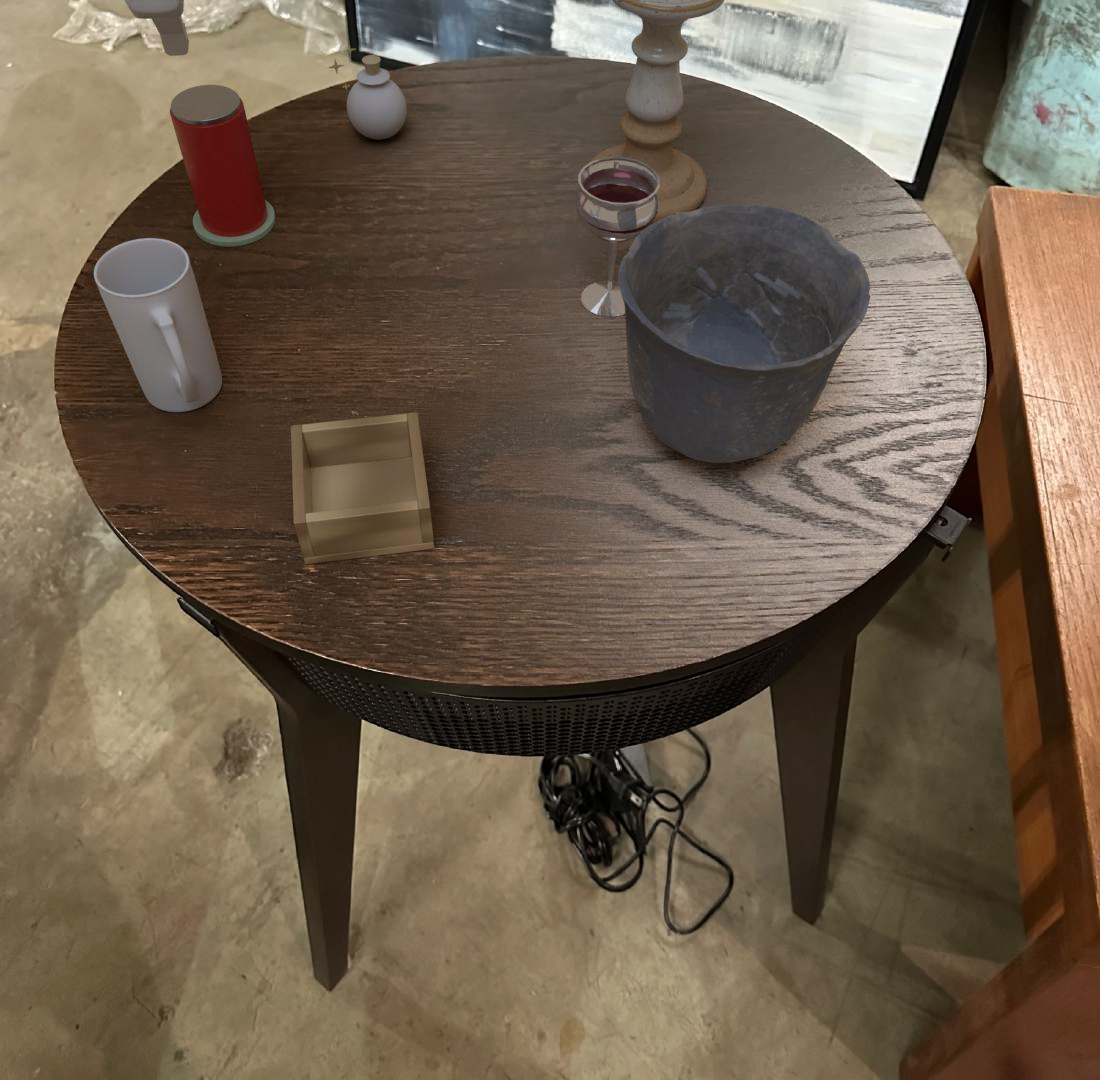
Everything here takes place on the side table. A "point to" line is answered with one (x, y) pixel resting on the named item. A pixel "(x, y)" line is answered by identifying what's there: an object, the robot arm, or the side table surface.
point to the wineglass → (615, 217)
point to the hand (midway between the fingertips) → (180, 21)
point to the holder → (360, 488)
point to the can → (219, 159)
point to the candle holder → (661, 102)
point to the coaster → (236, 240)
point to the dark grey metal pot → (736, 325)
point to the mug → (160, 322)
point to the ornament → (375, 101)
